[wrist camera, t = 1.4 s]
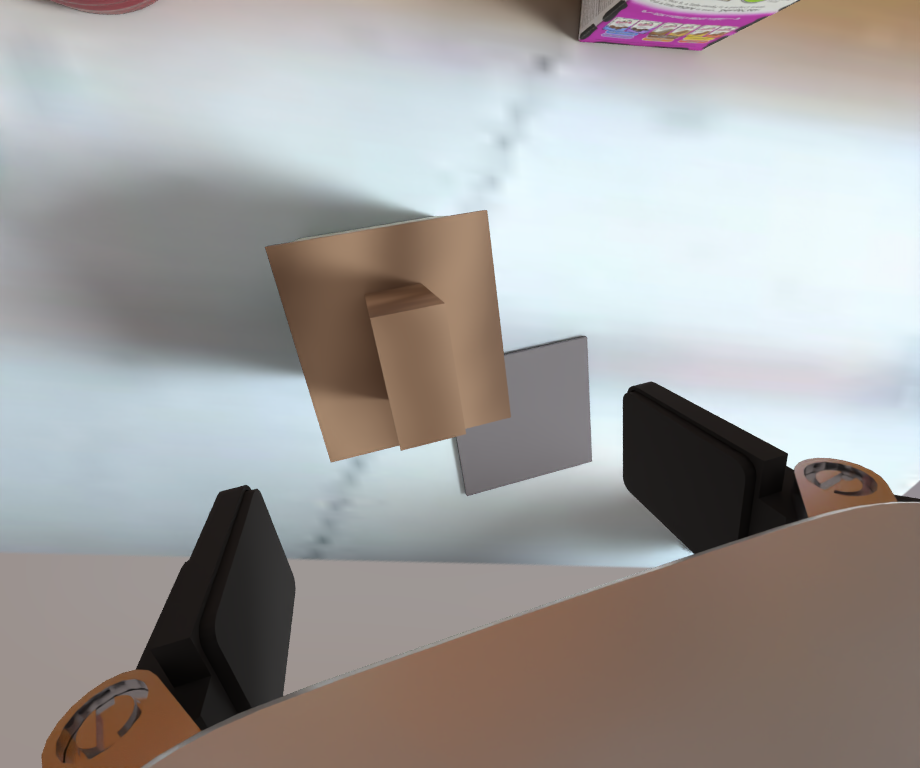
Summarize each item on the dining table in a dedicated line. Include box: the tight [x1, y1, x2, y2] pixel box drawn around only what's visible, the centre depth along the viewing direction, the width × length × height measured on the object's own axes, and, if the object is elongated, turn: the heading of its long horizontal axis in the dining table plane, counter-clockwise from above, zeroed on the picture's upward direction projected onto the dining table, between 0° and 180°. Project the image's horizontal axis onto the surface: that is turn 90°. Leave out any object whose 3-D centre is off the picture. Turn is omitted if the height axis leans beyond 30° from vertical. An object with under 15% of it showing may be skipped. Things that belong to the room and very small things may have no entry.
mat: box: [456, 336, 592, 496], centre depth 44 cm, size 14×14×1 cm
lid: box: [265, 210, 511, 462], centre depth 22 cm, size 11×12×8 cm
